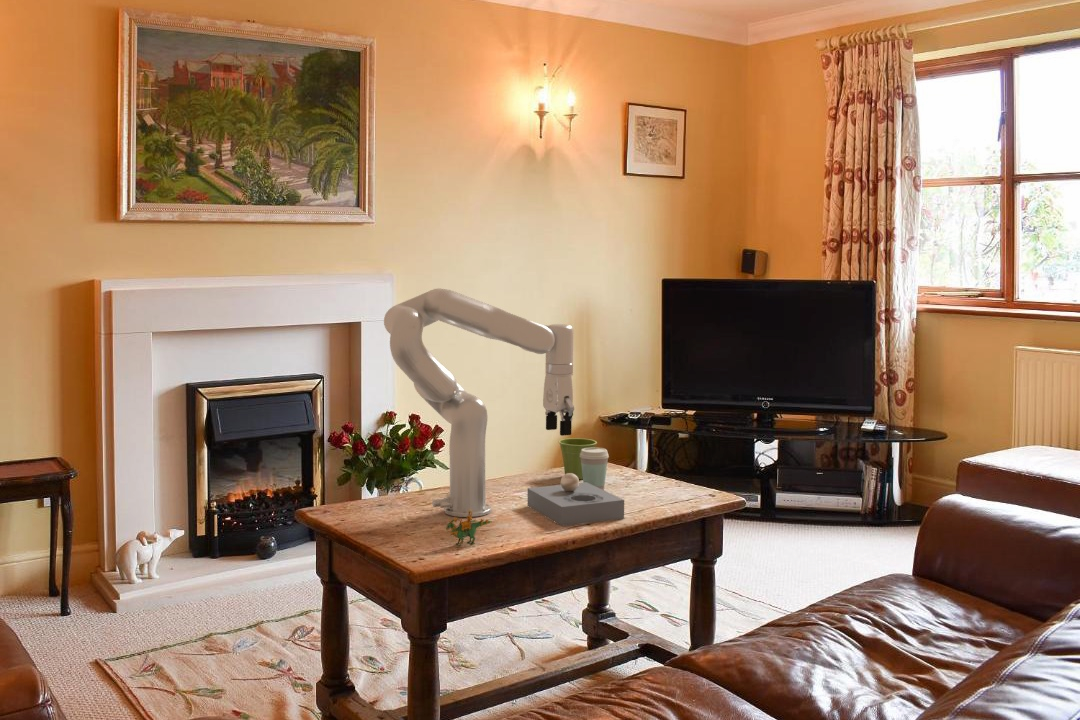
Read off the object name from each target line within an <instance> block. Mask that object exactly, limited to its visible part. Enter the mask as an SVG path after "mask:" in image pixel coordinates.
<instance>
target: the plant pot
mask: <svg viewBox="0 0 1080 720" xmlns="http://www.w3.org/2000/svg"><path fill="white" fill-rule="evenodd" d="M558 444H559V445H560V450H561V454H562V462H563V469H564V475H565V474H567V473H573V474H575V475H576V476H577V477H578V479H581V480H583V475H582V466H581V457H580V453H581V450H582V449H584V448H592V447H595V448H596V445H597V444H598V442H597V441H596V440H594V439H589V438H583V437H580V438H578V437H575V438H573V437H572V438H570V437H569V438H563V439H559V440H558Z"/></svg>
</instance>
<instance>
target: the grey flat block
mask: <svg viewBox="0 0 1080 720" xmlns="http://www.w3.org/2000/svg"><path fill="white" fill-rule="evenodd" d="M528 506H529V508H530V507H531V508H530V509H531V510H533V509H534V510H533V511H535V510H536V511H535V512H536V513H538V512H539V514H540V513H541V514H540V515H542V516H543V517H545V516H546V517H545V518H547V519H549V520H550V519H551V521H552V520H553V521H552V522H554V521H555V522H556V524H557V523H558V524H557V525H559V526H561V527H566V525H568V526H575V524H576V525H583V524H582V523H584V524H591V523H600V521H601V522H608V520H609V521H616V519H617V520H624V519H625V499H623V498H622V497H619V496H618V495H617V496H616V495H615V494H613V493H610V492H608V491H606V490H605V489H604V490H602V489H600V488H598V487H596V486H594V485H591V484H589V483H587V482H583V481H582V482H579V486H578V488H577V489H576V490H575V491H572V492H568V491H565V490H564V489H563V488H562V486H561V484H555V485H546V486H545V485H544V486H536V487H535V486H534V487H529V488H527V507H528ZM623 518H624V519H623Z"/></svg>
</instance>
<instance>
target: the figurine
mask: <svg viewBox="0 0 1080 720" xmlns="http://www.w3.org/2000/svg"><path fill="white" fill-rule="evenodd" d="M470 513H471V515H470ZM468 515H469V516H467V517H466V520H463V518H460V519H458V518H457V517H454V519H452V520H450V519H449V521H448V523H447V526H446V528H445V530H446V531H449V529H451V530H450V531H451V532H450V534H448V535H449V536H451V537H452V538H454V537H456V538H458V539H457V543H456V542H455V545H456V546H457V547H461V546H462V545H463V543H464V538H467V537H469V541H466V544H469V545H470V546H473V545H474V544H475V541H476V537H475V534H476V532H477V528H480V527H484V526H485V525H488V524H490V523H492V522H493V521H492V520H489V519H485V521H484V519H483V518H480V520H477V521H476V519H474V520H473V517H471V516H472V511H471V510H470V511H469V513H468ZM458 521H459V524H458V526H456V524H455V523H457V522H458Z"/></svg>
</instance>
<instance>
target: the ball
mask: <svg viewBox="0 0 1080 720" xmlns="http://www.w3.org/2000/svg"><path fill="white" fill-rule="evenodd" d="M579 483H580V480H579V479H578V477H577V476H576V475H575V474H573V473H567V474H565V473H564V475H562V476H561V479H560V485H561V486H562V488H563V489H564V490H565V491H568V492H572V491H575V490H576V489H577V488H578V486H579Z"/></svg>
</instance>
